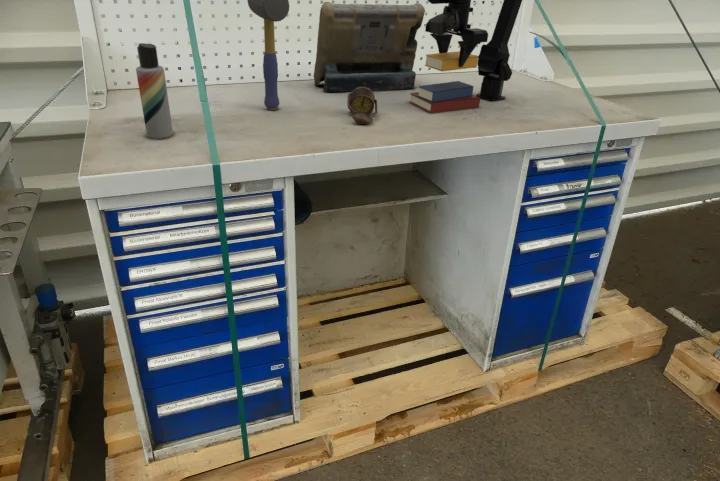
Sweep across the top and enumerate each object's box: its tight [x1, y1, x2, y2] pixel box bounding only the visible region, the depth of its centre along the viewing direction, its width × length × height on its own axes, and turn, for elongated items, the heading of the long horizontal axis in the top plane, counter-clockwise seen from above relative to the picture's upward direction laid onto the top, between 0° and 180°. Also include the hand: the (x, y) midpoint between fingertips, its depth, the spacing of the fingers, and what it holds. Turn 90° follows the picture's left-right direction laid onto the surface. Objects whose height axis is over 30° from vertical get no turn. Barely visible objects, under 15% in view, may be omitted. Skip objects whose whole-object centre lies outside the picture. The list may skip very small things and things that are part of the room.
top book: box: [424, 50, 479, 72], centre depth 144 cm, size 13×7×3 cm, turn 124°
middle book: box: [418, 80, 475, 103], centre depth 150 cm, size 15×6×3 cm, turn 123°
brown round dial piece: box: [346, 87, 378, 125], centre depth 137 cm, size 7×13×10 cm
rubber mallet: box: [247, 0, 290, 111], centre depth 134 cm, size 12×8×30 cm, turn 28°
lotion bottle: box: [135, 42, 174, 140], centre depth 116 cm, size 6×6×20 cm
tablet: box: [313, 1, 426, 93], centre depth 160 cm, size 33×14×25 cm, turn 114°
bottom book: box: [409, 91, 481, 114], centre depth 152 cm, size 17×11×3 cm, turn 118°
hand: (451, 64), depth 145 cm, fingers closed on top book, 7 cm apart
